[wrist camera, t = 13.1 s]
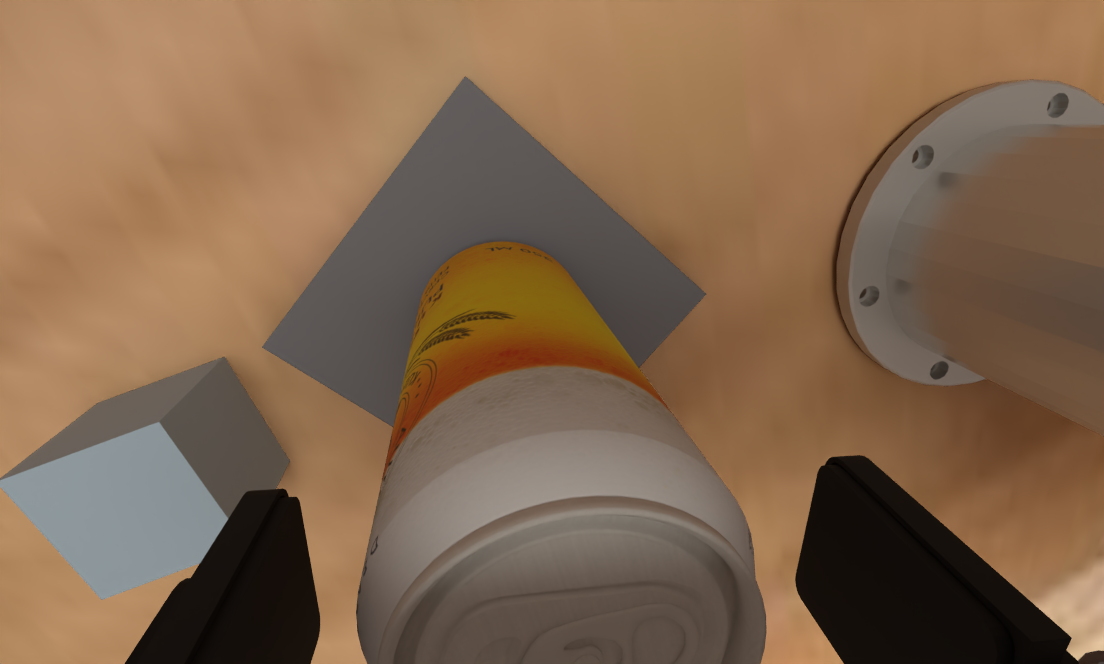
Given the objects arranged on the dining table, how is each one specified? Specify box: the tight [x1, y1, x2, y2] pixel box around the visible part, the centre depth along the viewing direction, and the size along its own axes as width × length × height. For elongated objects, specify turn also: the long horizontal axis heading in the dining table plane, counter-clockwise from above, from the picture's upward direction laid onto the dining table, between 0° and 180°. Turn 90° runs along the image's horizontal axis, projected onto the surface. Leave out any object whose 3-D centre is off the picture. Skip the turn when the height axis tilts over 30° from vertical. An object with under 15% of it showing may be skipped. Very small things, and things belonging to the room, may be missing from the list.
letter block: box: [0, 357, 290, 600], centre depth 20 cm, size 5×5×5 cm
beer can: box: [356, 241, 766, 664], centre depth 14 cm, size 6×6×15 cm
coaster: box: [262, 76, 706, 427], centre depth 22 cm, size 12×12×1 cm
